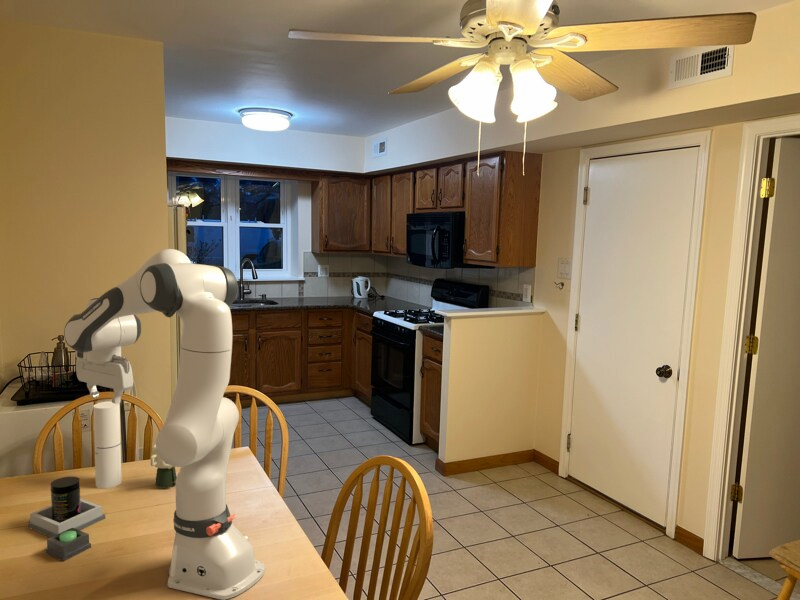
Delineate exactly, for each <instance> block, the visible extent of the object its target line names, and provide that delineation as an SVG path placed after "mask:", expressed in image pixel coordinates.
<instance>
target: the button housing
mask: <svg viewBox="0 0 800 600" xmlns="http://www.w3.org/2000/svg"><path fill="white" fill-rule="evenodd" d="M66 531H76V533H77V538H75V539H73V540H71V541H69V542H67V543H63V542H61V541H60V538H59V536H60V534H62V533H64V532H66ZM66 531H64V532H62V533H59V534H57V535H55V536H53V537H49V538H47V539H46V546H47V547H46V548H45V551H44V552H45V554H47V555H49V556H52V557H53V558H55V559H58V560H60V561H62V562H65V561H67V560H69V559H71V558H73V557H75V556H77V555H79V554H81V553H83V552H85V551H86V550H89V549H91V548H92V543H91V542H90V534H89V533H86V532H84V531H83V530H77V529H75V528H70V529H68V530H66Z"/></svg>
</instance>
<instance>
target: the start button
mask: <svg viewBox="0 0 800 600" xmlns="http://www.w3.org/2000/svg"><path fill="white" fill-rule="evenodd" d="M59 538H60V541H61V542H63V543H67V542H69V541H71V540H73V539H75V538H77V533H76V531H66V532H64V533H62V534H60V536H59Z"/></svg>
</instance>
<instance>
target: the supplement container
mask: <svg viewBox="0 0 800 600" xmlns="http://www.w3.org/2000/svg"><path fill="white" fill-rule="evenodd" d="M80 498H81V480H80V478H79V477H78V476H64V477H60V478H57V479H55V480H52V481H51V482H50V499H51V500H50V501H51V505H50V506H52V520H54V521H56V522H59V523H61V522H63V521H65V520H68V519H70V518H72V517H75V516H77V515H79V514H81V506H80Z"/></svg>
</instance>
